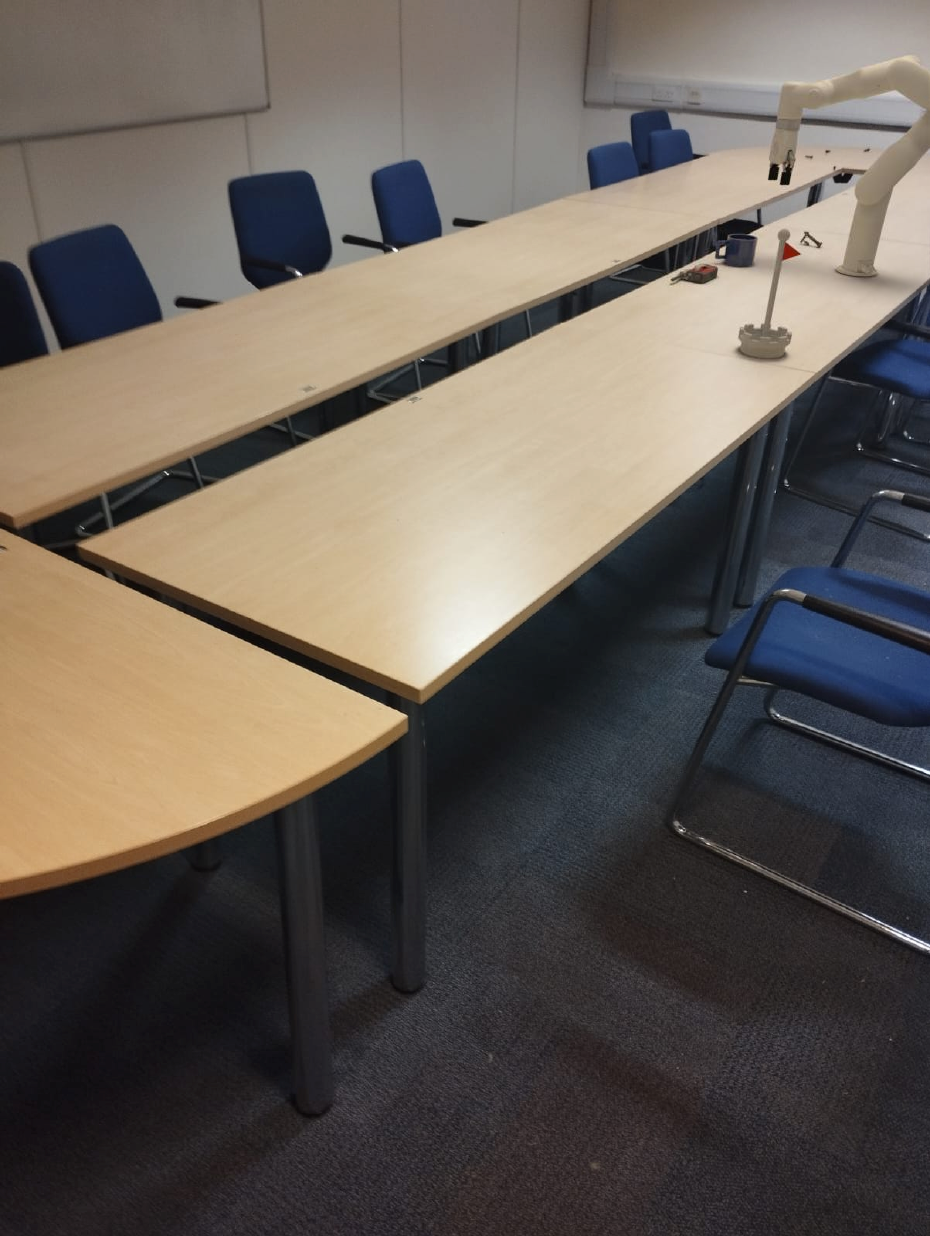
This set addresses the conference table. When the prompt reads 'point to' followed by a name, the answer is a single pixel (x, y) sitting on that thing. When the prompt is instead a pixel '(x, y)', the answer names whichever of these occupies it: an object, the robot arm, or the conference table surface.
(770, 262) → the conference table surface
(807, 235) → the wooden post with brackets
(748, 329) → the flag stand
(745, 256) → the mug
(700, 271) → the walkie-talkie
